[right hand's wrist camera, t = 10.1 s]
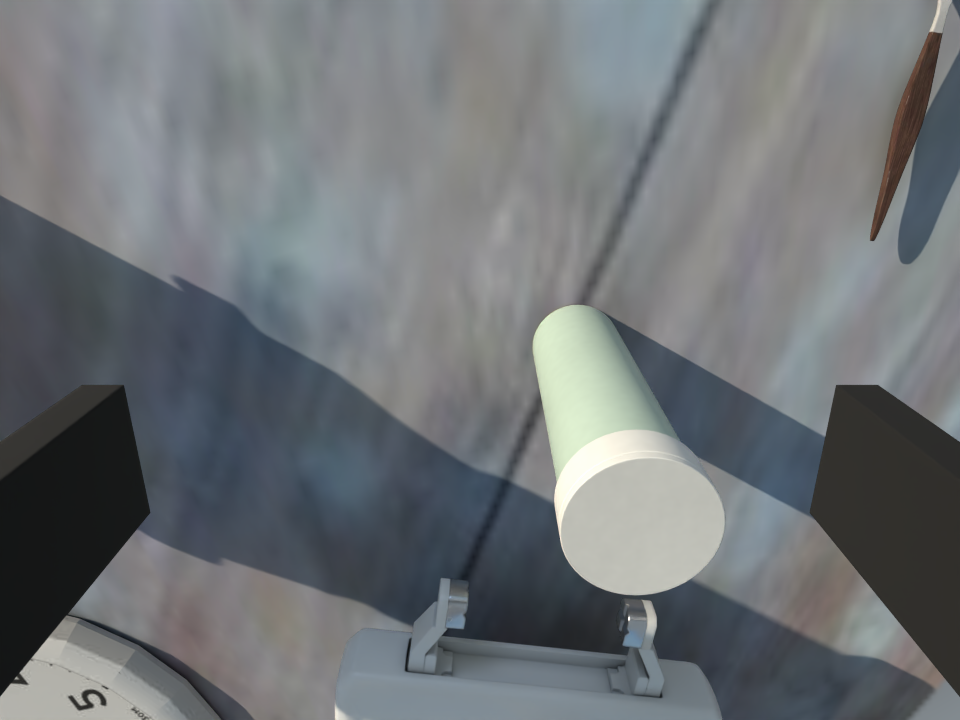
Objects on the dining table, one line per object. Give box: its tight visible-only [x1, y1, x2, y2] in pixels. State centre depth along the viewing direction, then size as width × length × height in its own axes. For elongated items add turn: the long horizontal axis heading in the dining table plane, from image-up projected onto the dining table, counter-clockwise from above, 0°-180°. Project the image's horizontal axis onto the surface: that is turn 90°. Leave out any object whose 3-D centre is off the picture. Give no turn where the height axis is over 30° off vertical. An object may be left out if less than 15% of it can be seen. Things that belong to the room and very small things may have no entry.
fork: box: [870, 0, 953, 241], centre depth 29 cm, size 3×16×2 cm, turn 175°
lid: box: [554, 429, 726, 595], centre depth 21 cm, size 5×5×2 cm
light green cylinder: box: [533, 305, 680, 481], centre depth 28 cm, size 4×4×16 cm
